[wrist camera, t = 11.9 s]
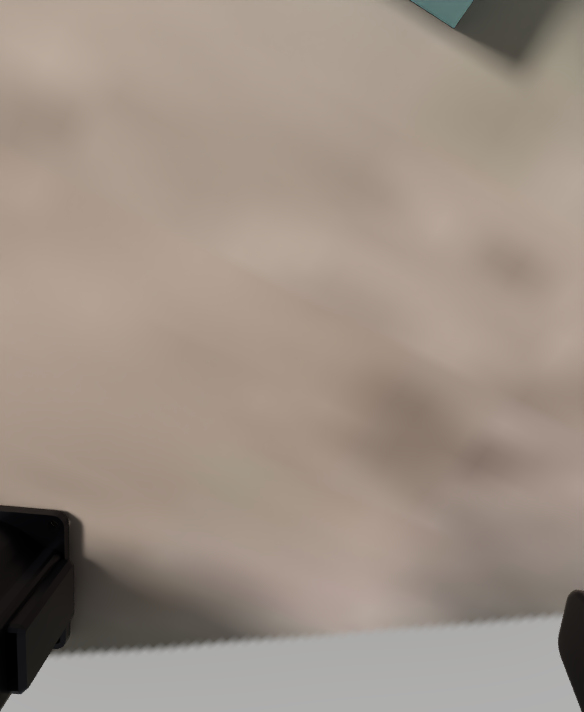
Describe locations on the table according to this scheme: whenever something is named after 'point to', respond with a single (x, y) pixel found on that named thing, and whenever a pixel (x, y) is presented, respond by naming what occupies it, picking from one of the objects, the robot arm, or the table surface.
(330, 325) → the table surface
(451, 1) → the base
